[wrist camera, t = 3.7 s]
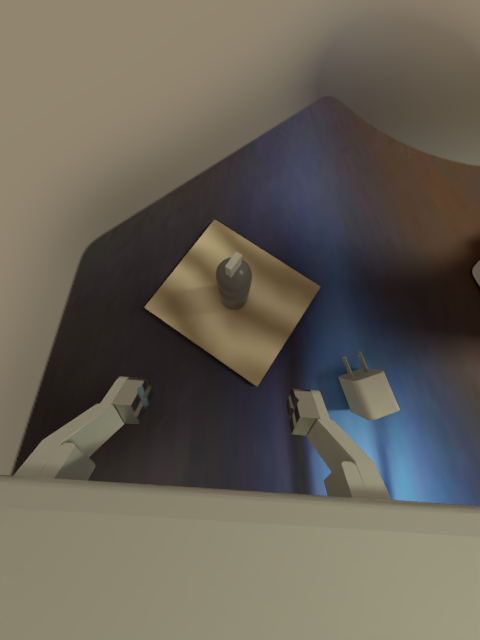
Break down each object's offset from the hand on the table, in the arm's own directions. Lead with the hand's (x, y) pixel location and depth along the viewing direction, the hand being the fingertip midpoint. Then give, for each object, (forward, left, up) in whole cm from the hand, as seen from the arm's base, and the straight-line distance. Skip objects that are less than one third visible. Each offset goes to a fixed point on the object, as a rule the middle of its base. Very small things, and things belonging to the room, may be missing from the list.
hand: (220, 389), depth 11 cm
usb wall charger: (-8, +14, -14) cm, 22 cm away
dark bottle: (-8, -5, -13) cm, 16 cm away
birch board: (-8, -5, -14) cm, 17 cm away
